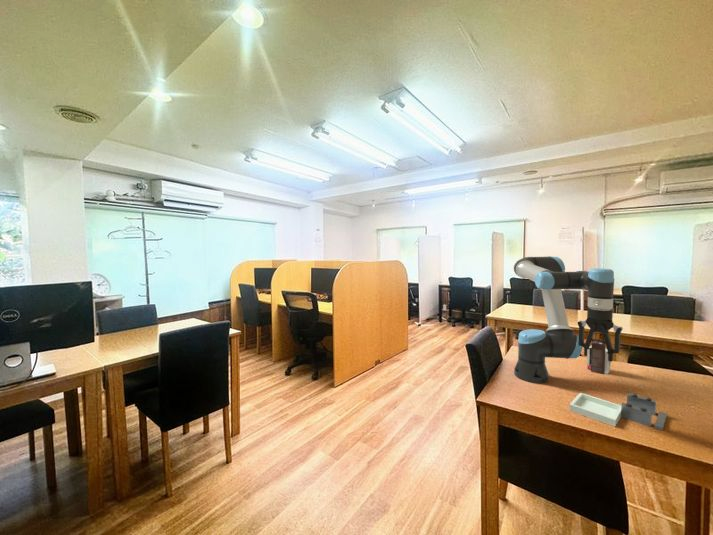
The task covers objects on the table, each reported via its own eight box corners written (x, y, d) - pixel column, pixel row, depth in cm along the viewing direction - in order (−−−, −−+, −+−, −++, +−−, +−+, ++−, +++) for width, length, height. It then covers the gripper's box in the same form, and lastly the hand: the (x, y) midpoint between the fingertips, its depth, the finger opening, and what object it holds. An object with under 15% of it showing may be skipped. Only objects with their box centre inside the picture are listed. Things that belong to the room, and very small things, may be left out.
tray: (569, 410, 116) (569, 404, 116) (579, 398, 125) (580, 392, 124) (615, 426, 105) (615, 420, 105) (623, 412, 114) (623, 406, 113)
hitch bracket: (620, 416, 111) (621, 402, 110) (627, 404, 119) (628, 391, 118) (662, 430, 102) (663, 415, 102) (666, 416, 110) (667, 402, 110)
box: (590, 366, 117) (592, 337, 116) (604, 369, 114) (606, 340, 113) (589, 371, 113) (591, 342, 112) (604, 375, 110) (606, 344, 109)
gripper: (569, 306, 116) (567, 362, 118) (629, 313, 102) (626, 377, 104) (574, 303, 121) (573, 357, 123) (633, 310, 107) (630, 371, 109)
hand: (597, 366), depth 113 cm, fingers closed on box, 5 cm apart
